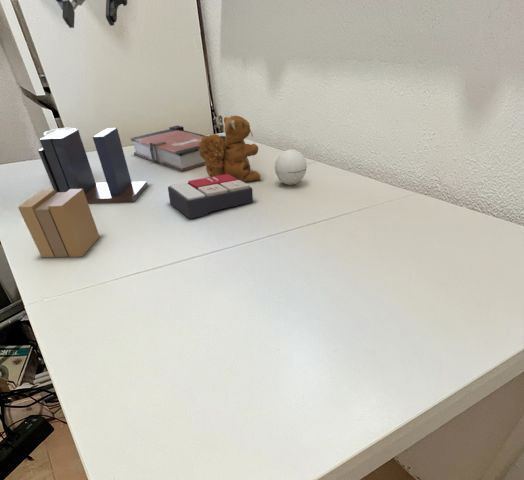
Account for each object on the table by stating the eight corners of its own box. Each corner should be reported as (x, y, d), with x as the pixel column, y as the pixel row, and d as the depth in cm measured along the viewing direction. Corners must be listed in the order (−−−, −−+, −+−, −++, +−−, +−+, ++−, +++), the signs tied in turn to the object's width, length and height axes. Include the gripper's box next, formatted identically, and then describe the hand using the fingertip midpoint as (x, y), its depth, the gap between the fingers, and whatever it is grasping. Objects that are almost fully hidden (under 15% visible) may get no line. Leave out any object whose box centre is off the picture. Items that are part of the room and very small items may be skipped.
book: (132, 155, 116) (127, 136, 112) (180, 142, 124) (177, 125, 121) (180, 172, 101) (176, 151, 97) (231, 156, 109) (229, 137, 106)
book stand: (53, 204, 88) (27, 141, 79) (74, 187, 96) (53, 129, 87) (133, 202, 86) (116, 137, 77) (148, 185, 94) (133, 125, 86)
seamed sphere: (279, 191, 87) (278, 156, 82) (272, 180, 92) (271, 147, 87) (321, 185, 88) (323, 151, 83) (311, 175, 93) (312, 142, 89)
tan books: (41, 257, 68) (17, 207, 62) (62, 237, 74) (42, 189, 68) (82, 256, 67) (62, 205, 61) (99, 236, 73) (82, 188, 67)
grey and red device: (253, 184, 80) (186, 197, 74) (253, 205, 83) (189, 219, 77) (228, 171, 87) (166, 182, 81) (229, 191, 90) (169, 203, 84)
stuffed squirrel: (263, 180, 93) (260, 118, 84) (206, 188, 91) (197, 125, 82) (254, 168, 100) (250, 110, 91) (200, 175, 98) (192, 116, 89)
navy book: (110, 195, 87) (92, 137, 79) (122, 183, 93) (106, 128, 85) (120, 195, 87) (103, 136, 79) (132, 183, 93) (117, 127, 85)
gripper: (47, -71, 74) (43, 7, 73) (118, -78, 73) (115, 2, 72) (70, -31, 82) (66, 41, 81) (134, -36, 81) (131, 37, 80)
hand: (89, 23), depth 76 cm, fingers open, 8 cm apart
